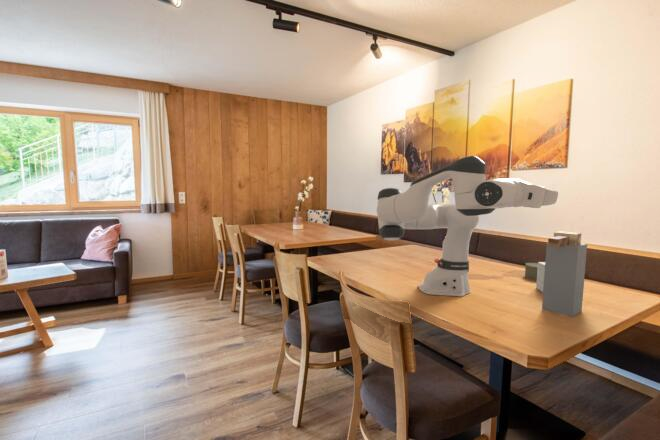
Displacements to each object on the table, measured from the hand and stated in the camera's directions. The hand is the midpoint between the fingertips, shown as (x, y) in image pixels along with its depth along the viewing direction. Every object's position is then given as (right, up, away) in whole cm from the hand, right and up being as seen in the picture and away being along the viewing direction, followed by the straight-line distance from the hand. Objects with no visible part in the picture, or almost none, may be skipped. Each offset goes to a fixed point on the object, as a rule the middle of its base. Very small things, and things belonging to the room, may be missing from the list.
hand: (529, 191), depth 112 cm
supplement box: (+33, -42, +40) cm, 67 cm away
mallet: (+18, -19, +10) cm, 28 cm away
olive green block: (+42, -40, +62) cm, 85 cm away
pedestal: (+22, -44, +16) cm, 52 cm away
